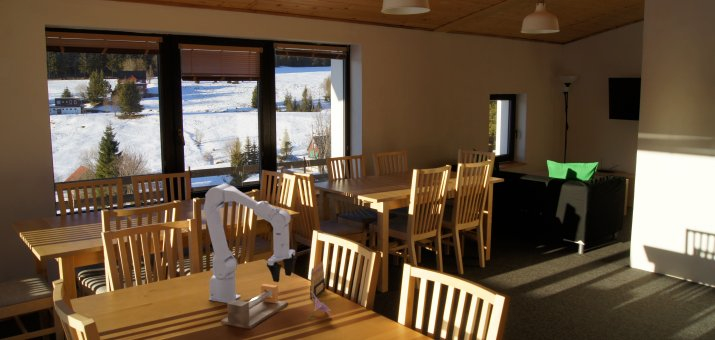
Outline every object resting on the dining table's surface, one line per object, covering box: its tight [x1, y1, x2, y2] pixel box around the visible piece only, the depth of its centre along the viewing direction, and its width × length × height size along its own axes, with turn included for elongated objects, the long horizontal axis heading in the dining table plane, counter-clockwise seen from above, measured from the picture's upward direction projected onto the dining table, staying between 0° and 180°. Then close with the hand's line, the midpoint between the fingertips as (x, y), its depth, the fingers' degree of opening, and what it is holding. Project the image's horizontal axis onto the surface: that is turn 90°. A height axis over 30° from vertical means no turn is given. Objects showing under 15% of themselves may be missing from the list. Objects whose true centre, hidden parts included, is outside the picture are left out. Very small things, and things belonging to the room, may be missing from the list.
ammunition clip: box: [309, 261, 326, 300], centre depth 231 cm, size 11×2×12 cm, turn 160°
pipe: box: [247, 290, 272, 309], centre depth 213 cm, size 3×18×3 cm, turn 155°
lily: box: [308, 289, 333, 321], centre depth 208 cm, size 12×12×10 cm
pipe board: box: [220, 299, 289, 330], centre depth 213 cm, size 12×24×8 cm, turn 155°
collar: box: [260, 283, 279, 303], centre depth 221 cm, size 6×2×6 cm, turn 65°
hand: (282, 278), depth 222 cm, fingers open, 7 cm apart
